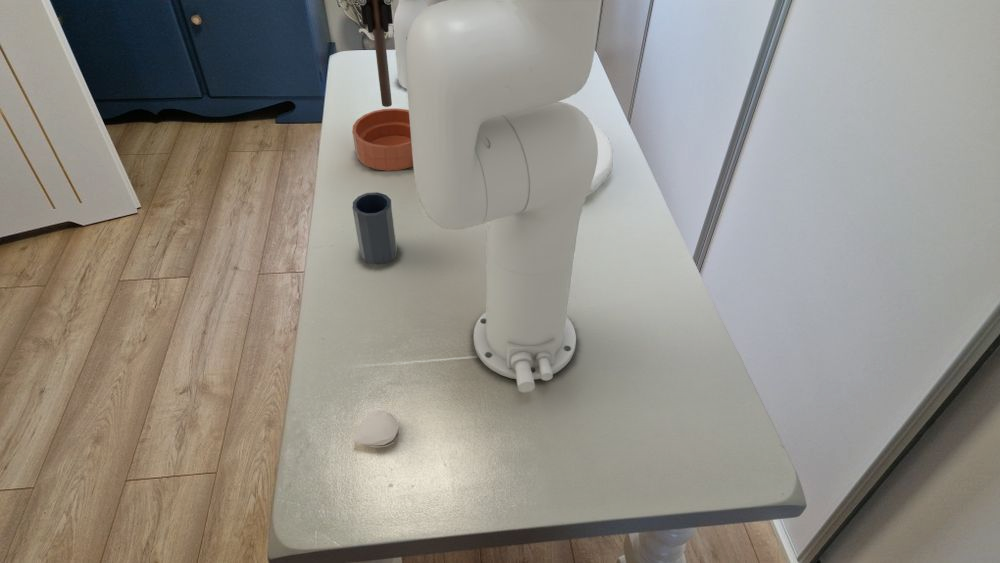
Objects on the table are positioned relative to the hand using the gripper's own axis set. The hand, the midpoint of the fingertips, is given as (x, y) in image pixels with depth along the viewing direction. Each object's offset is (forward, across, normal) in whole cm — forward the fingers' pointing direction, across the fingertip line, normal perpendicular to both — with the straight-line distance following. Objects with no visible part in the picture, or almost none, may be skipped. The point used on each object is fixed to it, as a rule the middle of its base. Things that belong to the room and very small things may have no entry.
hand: (378, 27), depth 97 cm
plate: (+21, +22, -6) cm, 32 cm away
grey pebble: (+21, -2, -56) cm, 60 cm away
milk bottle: (+22, +5, +25) cm, 33 cm away
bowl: (+21, 0, 0) cm, 21 cm away
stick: (+13, 0, 0) cm, 13 cm away
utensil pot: (+21, -2, -26) cm, 34 cm away
